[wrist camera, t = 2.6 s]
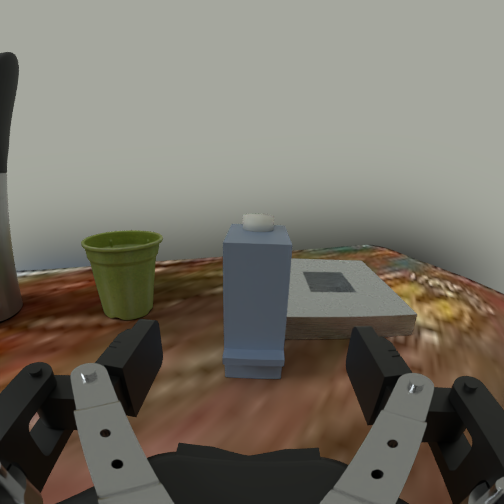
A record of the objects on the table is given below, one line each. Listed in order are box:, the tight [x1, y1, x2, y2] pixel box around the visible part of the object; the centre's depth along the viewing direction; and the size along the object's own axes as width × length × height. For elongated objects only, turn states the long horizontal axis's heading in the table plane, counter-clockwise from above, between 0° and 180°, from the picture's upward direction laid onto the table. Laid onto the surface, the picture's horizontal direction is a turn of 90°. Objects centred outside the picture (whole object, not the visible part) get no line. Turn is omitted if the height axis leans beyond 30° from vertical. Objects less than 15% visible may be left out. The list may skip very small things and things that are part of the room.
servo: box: [223, 213, 292, 379], centre depth 24 cm, size 10×4×12 cm, turn 178°
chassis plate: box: [285, 259, 417, 339], centre depth 37 cm, size 20×16×2 cm
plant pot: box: [81, 230, 163, 320], centre depth 32 cm, size 9×9×9 cm
